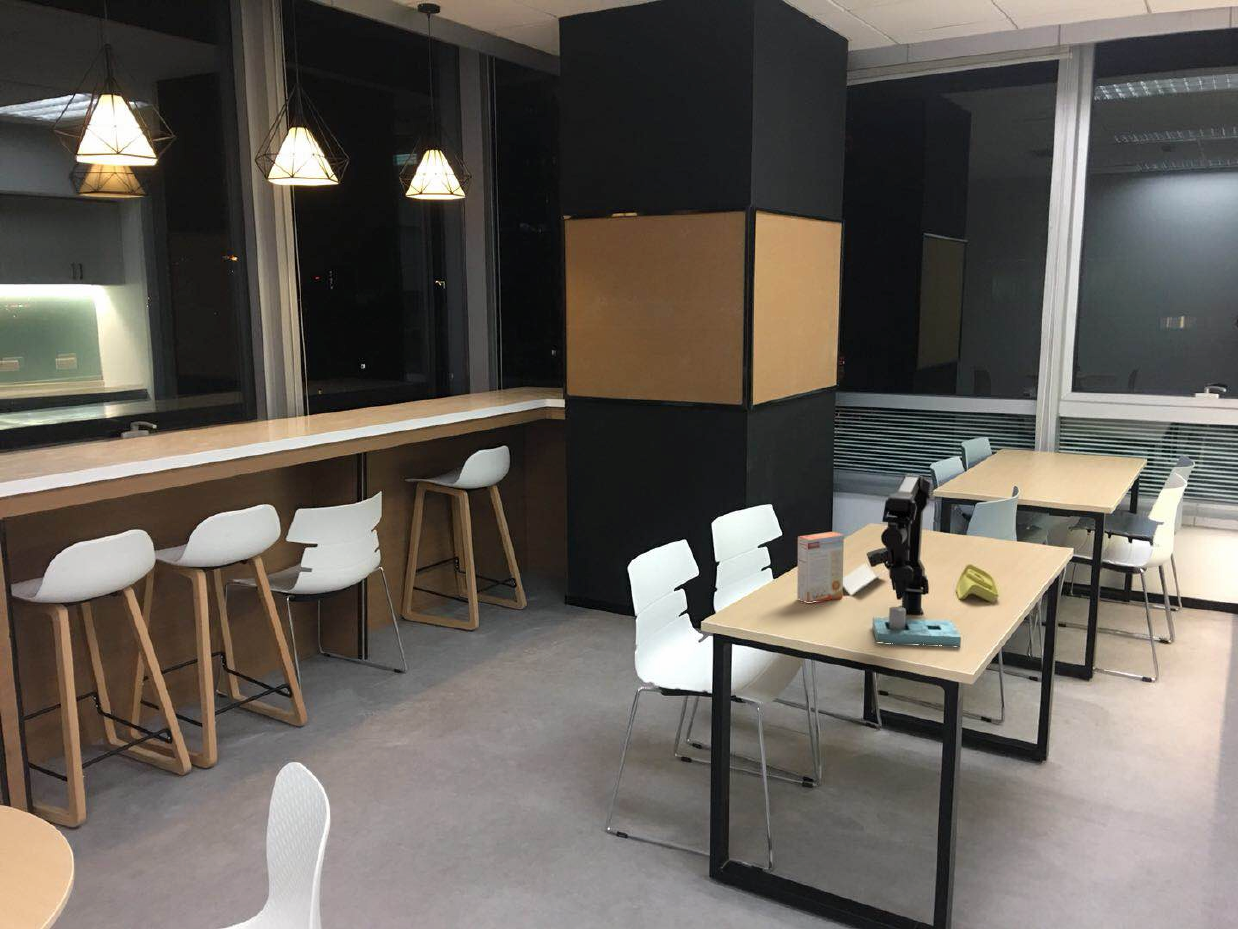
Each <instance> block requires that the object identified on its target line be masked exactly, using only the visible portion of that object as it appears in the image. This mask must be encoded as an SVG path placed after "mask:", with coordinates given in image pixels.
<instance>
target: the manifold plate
mask: <svg viewBox="0 0 1238 929" xmlns="http://www.w3.org/2000/svg"><path fill="white" fill-rule="evenodd" d="M873 629H874V631H873V633H874V632H875V634H874V637H875V636H876V638H875V640H876V639H877V641H876V643H877V642H883V643H891V644H890V645H893V644H919V645H923V644H924V645H938V646H939V645H942V646H957V647H956V648H958V647H960V648H961V641H962V636H961V635H960V633H959V631H958V629H957V627H956V625H955V624H954V622H953V620H947V619H946V620H945V619H944V620H943V619H940V620H939V619H938V620H937V619H922V618H921V619H920V618H919V619H917V618H905V630H894V629H889V617H876V616H875V617H872V630H873ZM892 643H893V644H892Z"/></svg>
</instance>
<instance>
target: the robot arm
mask: <svg viewBox="0 0 1238 929" xmlns="http://www.w3.org/2000/svg"><path fill="white" fill-rule="evenodd" d="M932 496H933V487H932V485H931V482H929V480H926V479H924V478H923V475H921V474H913V473H907V474H904V475H903V478H902V480H901V483H900V486H899V488H898V490H897V492H894V493H893V492H892V493H891V494H890V495H889V496H888V498H887V499H885V504H884V510H883V516H882V519H881V520H882V523H887V527H886V528H885V529H884V530H883V531H882V533H881V536H880V540H881V542H882V545H884V546H885V547H882V548H878V549H875V550H872V551H869V552H867V553H866V556H867V559H868V562H869V565H870V567H871V568H874V567H877V566H878V565H881V564H883V566H884V567H885V569H886V568H887V570H888V577H889V579H890V580H891V585H892V586H891V587H892V590H893V591H895V595H896V600H897V601H900V600H901V605H899V606H898V607H902V608H905V609H906V615H907V614H908V615H924V610H923V609H922V598H923V597H922V596H926V595H929V593H930V592H929V591H930V585H929V584H930V583H929V579H928V578H927V577H928V576H927V575H926V568H925V567H924V564H923V563H922V561H921V554H922V553H921V550H922V537H923V533H922V532H923V519H924V518H923V517H924V512H925V510H926V509H927V507H928V505H929V504H930V500H931V499H932Z"/></svg>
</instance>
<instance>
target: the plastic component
mask: <svg viewBox="0 0 1238 929" xmlns="http://www.w3.org/2000/svg"><path fill="white" fill-rule="evenodd" d="M956 594H957V598H959V600H960V599H962V600H965V599H966V598H967V597H968V596H969V595H971V594H974V595H976V596H977V597H979V598H982V599H983V600H986V601H988V602H990V603H994V601H995V602H996V601H997V599H998V597H999V595H1000V592H999V588H998V586H997V582H996V580H995V578H994V577H993V576H992V575H991V574H990V573H988V572H987V571H985V570H983V569H981V568H980V567H977V566H976V565H974V564H972V563H968V564H967V565H965V567H964V569H963V570H962V572H961V574H960V576H959V578H958V581H957V583H956Z"/></svg>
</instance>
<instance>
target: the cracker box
mask: <svg viewBox="0 0 1238 929" xmlns="http://www.w3.org/2000/svg"><path fill="white" fill-rule="evenodd" d="M844 538H845V535H844V534H841V533H838V532H835V531H828V532H821V533H814V534H807V535H800V536H797V592H796V593H797V598H798V599H800V600H802V601H806V602H813V601H822V602H825V600H827V601H832V600H831V599H833V600H837V599H838V598H839V599H842V598H843V597H844V594H843V593H844V587H843V578H844V552H845V551H844V547H845V546H844V545H845V544H844V543H845V542H844V540H845V539H844ZM798 599H797V600H798ZM800 600H799V601H800ZM802 601H801V602H802Z"/></svg>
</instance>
